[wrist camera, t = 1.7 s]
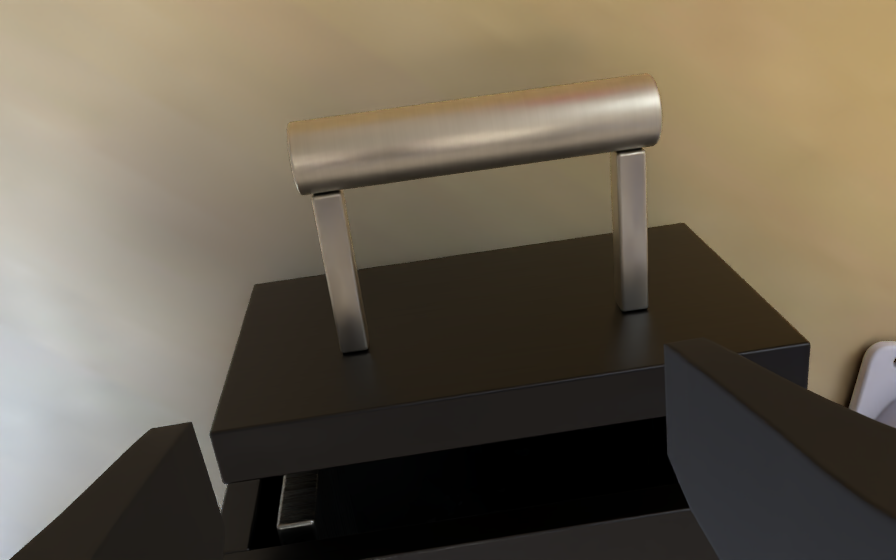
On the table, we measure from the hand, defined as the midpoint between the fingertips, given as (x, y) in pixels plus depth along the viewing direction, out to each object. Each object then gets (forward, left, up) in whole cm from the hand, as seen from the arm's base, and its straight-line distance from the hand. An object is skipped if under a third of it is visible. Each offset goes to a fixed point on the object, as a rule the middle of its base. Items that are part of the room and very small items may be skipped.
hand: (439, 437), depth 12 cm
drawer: (-2, +5, -9) cm, 11 cm away
